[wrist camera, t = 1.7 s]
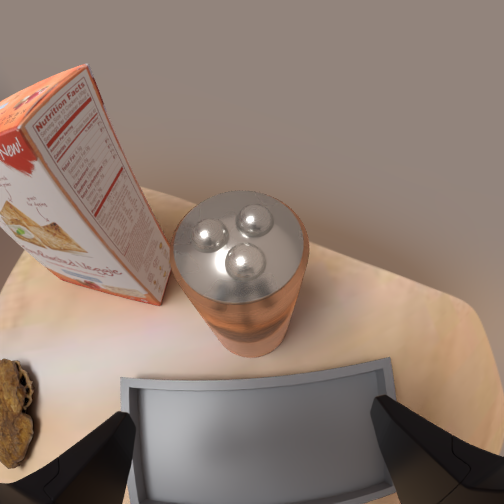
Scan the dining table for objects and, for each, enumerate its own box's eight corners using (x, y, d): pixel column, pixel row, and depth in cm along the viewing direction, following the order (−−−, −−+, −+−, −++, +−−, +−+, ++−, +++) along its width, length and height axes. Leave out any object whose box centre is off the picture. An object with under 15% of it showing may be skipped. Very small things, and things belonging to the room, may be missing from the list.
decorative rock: (10, 339, 23) (-13, 422, 16) (-12, 329, 19) (-33, 418, 13) (54, 391, 20) (30, 480, 13) (27, 386, 16) (6, 481, 10)
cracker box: (61, 284, 26) (-59, 161, 8) (80, 240, 29) (-15, 107, 11) (161, 311, 24) (11, 124, 6) (178, 256, 27) (91, 55, 9)
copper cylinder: (302, 323, 23) (343, 232, 11) (248, 372, 21) (225, 338, 9) (253, 275, 26) (243, 158, 14) (200, 319, 24) (137, 229, 12)
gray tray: (389, 484, 15) (400, 490, 13) (142, 501, 15) (131, 509, 12) (378, 361, 21) (390, 356, 19) (133, 379, 21) (120, 377, 19)
